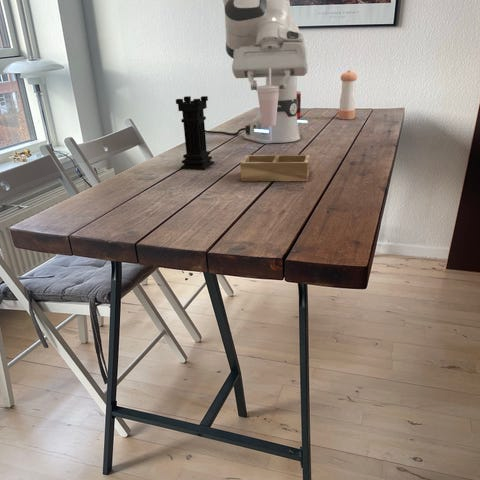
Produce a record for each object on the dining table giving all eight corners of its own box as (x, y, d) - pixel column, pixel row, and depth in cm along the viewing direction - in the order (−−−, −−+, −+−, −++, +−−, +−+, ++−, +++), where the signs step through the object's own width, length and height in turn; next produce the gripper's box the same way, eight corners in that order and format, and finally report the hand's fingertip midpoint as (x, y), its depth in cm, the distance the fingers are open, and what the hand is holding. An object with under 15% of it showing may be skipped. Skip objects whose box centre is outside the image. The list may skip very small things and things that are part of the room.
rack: (246, 172, 149) (246, 155, 146) (309, 172, 146) (309, 154, 143) (241, 181, 141) (240, 163, 138) (307, 181, 137) (307, 162, 135)
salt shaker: (342, 116, 228) (345, 69, 218) (357, 117, 224) (360, 69, 215) (335, 118, 223) (337, 71, 213) (350, 119, 219) (353, 71, 210)
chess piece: (214, 163, 160) (209, 96, 150) (204, 169, 154) (198, 99, 144) (191, 162, 163) (185, 96, 152) (181, 168, 156) (173, 99, 146)
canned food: (281, 117, 234) (281, 91, 228) (298, 116, 234) (299, 90, 229) (284, 119, 227) (284, 93, 222) (301, 118, 228) (302, 92, 222)
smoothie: (278, 126, 134) (278, 68, 127) (255, 127, 135) (253, 69, 128) (281, 122, 139) (281, 66, 132) (259, 123, 141) (257, 67, 133)
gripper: (232, 37, 134) (227, 81, 131) (308, 33, 131) (305, 78, 127) (236, 54, 140) (231, 97, 137) (309, 51, 137) (306, 94, 133)
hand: (268, 88), depth 132 cm, fingers closed on smoothie, 6 cm apart
